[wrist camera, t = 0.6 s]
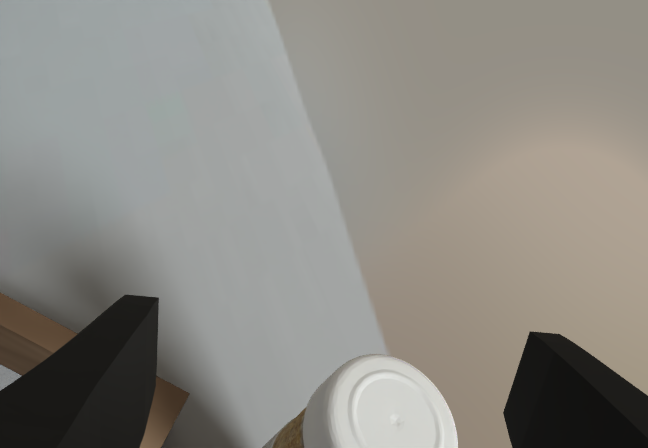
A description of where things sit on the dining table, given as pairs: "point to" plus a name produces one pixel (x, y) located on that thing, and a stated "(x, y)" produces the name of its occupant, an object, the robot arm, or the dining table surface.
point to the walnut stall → (48, 336)
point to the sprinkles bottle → (372, 410)
